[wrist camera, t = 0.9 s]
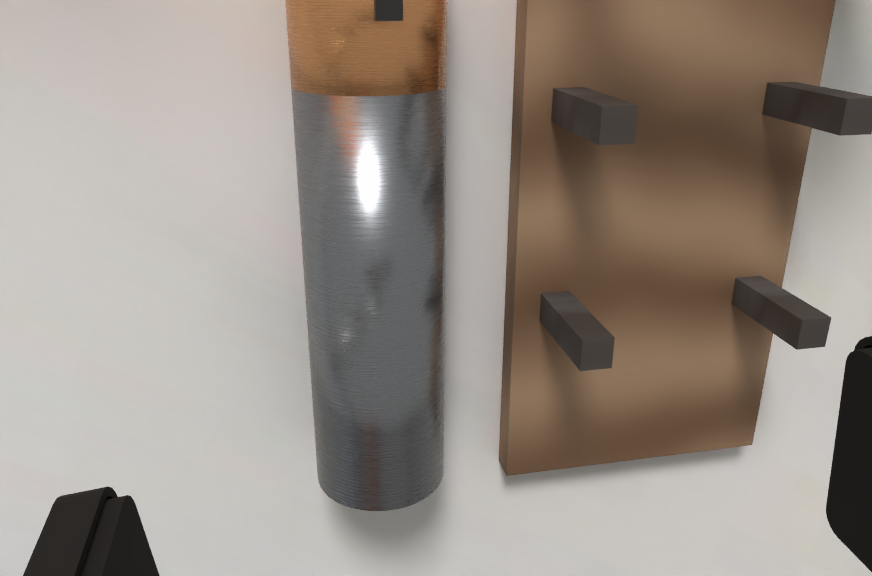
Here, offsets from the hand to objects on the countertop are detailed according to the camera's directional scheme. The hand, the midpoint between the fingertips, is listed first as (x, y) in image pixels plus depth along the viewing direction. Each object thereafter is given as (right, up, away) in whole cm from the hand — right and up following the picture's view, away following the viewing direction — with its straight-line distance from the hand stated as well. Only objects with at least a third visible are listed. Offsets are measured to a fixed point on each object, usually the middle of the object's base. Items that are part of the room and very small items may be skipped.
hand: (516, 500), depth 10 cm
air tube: (-4, +6, +19) cm, 20 cm away
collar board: (+8, +8, +21) cm, 23 cm away
